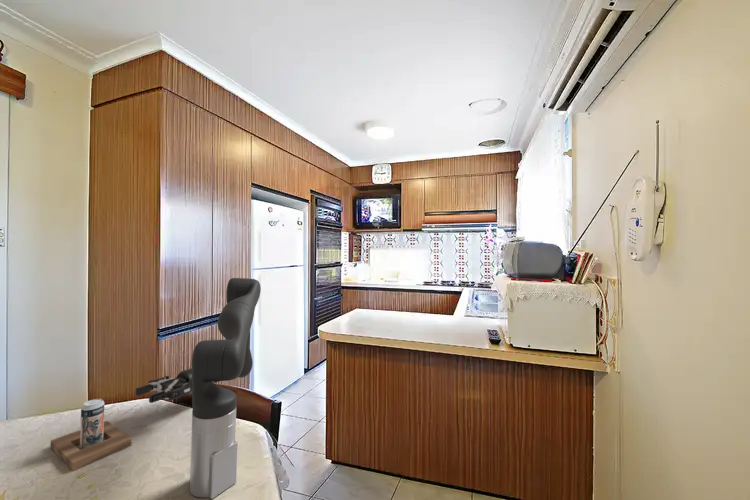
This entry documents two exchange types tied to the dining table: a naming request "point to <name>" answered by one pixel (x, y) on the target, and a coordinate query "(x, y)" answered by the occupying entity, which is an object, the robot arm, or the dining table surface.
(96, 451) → the frame
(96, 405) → the beer can
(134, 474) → the dining table surface
